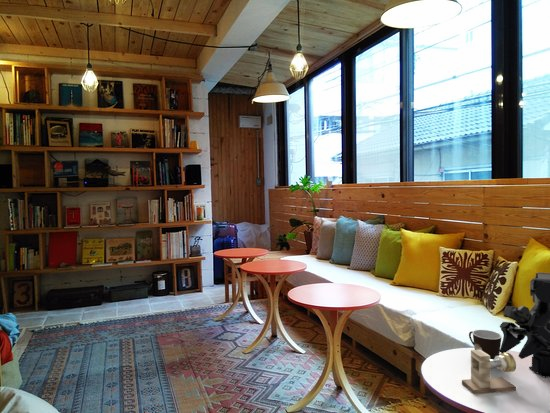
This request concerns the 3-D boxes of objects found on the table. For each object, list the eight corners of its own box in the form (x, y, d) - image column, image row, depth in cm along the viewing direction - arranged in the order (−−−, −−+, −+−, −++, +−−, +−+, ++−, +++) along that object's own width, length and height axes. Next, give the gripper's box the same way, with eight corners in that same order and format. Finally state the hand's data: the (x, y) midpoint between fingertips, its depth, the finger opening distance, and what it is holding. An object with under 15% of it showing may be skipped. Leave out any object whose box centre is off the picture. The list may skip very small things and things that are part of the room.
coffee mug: (505, 370, 124) (505, 339, 124) (477, 368, 126) (477, 338, 125) (493, 355, 135) (493, 327, 135) (466, 353, 137) (466, 326, 137)
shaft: (503, 366, 117) (503, 350, 116) (516, 374, 111) (516, 357, 111) (476, 368, 116) (476, 351, 116) (487, 376, 111) (487, 359, 110)
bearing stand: (502, 380, 117) (501, 347, 117) (516, 390, 111) (516, 355, 111) (461, 383, 116) (461, 349, 116) (474, 394, 110) (473, 358, 110)
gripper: (501, 296, 126) (472, 332, 123) (539, 296, 108) (506, 339, 105) (529, 320, 124) (500, 357, 122) (572, 325, 106) (540, 369, 103)
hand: (510, 355), depth 113 cm, fingers open, 9 cm apart
